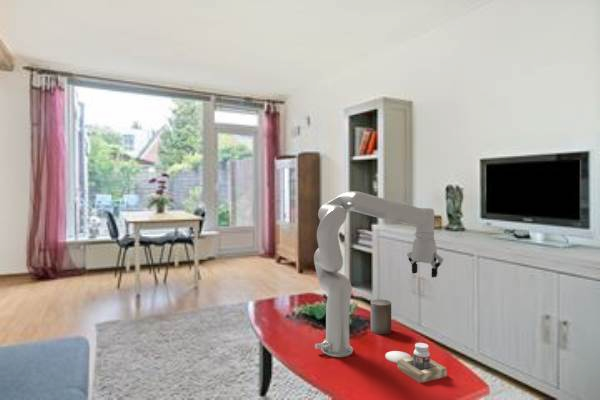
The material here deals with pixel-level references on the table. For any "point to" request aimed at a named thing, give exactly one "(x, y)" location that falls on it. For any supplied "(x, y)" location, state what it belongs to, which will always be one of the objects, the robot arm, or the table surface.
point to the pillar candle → (381, 316)
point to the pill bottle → (421, 356)
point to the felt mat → (396, 356)
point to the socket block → (423, 375)
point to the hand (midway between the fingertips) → (424, 275)
